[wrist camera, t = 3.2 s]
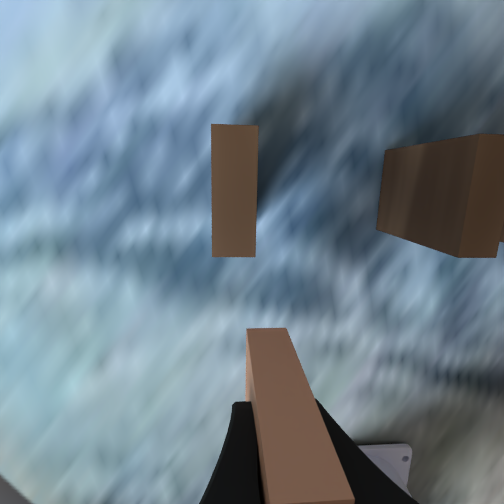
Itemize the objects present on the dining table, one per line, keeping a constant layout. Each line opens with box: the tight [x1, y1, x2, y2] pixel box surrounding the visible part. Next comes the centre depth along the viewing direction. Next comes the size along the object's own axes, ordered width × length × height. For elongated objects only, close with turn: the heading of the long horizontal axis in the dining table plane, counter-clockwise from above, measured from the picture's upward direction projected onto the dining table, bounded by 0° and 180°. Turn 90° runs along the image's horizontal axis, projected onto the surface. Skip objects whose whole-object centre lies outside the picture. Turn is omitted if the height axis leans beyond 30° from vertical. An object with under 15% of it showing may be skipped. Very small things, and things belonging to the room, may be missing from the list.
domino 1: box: [211, 124, 259, 257], centre depth 15 cm, size 2×5×7 cm, turn 179°
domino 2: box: [376, 134, 504, 258], centre depth 15 cm, size 2×5×7 cm, turn 179°
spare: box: [246, 328, 355, 504], centre depth 10 cm, size 2×5×7 cm, turn 179°
